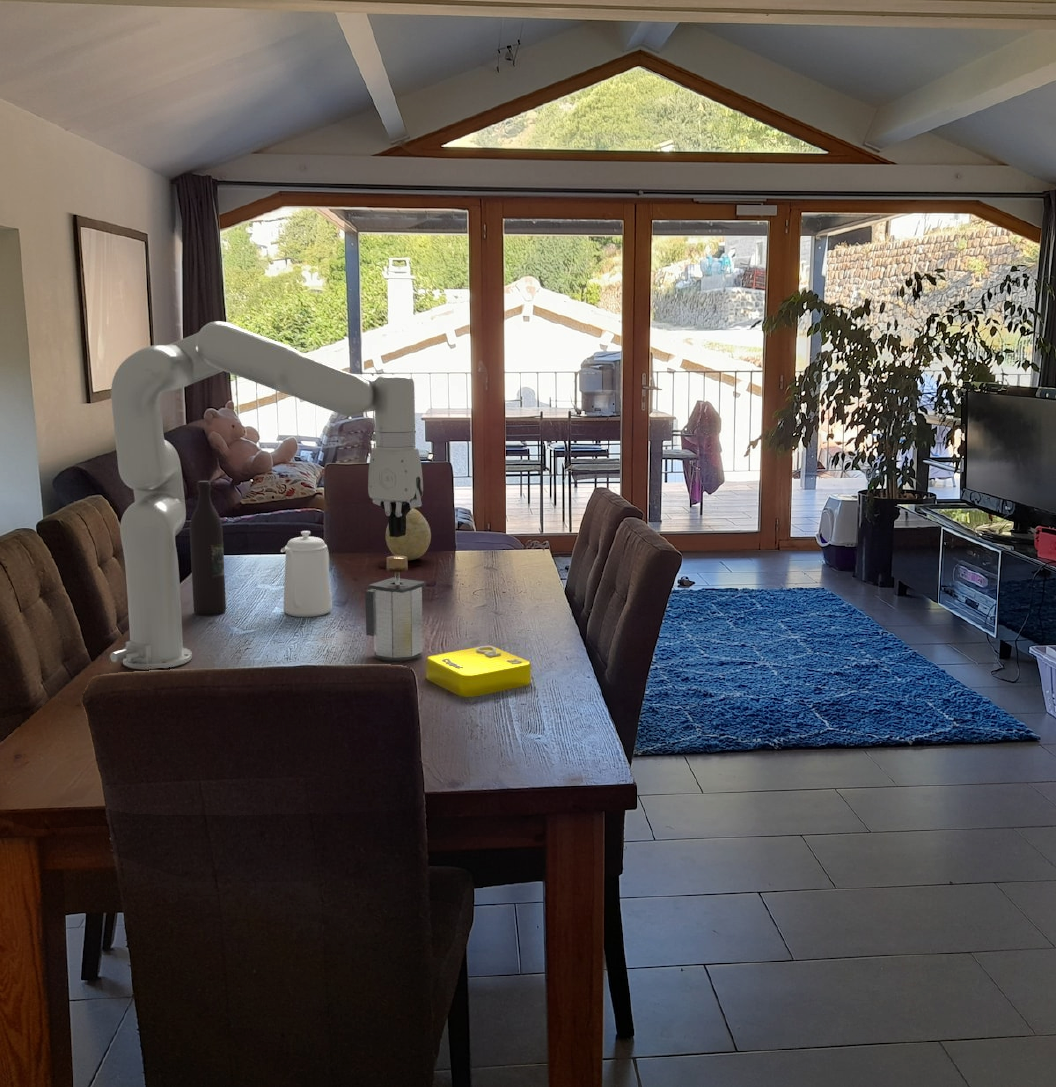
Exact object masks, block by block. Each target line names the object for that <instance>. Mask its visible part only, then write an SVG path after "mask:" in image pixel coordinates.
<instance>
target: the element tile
mask: <svg viewBox="0 0 1056 1087" xmlns="http://www.w3.org/2000/svg"><path fill="white" fill-rule="evenodd" d="M425 661H426V664H425V665H426V668H425V669H426V674H425V675H426V680H427V681H429V682H432V683H434V684H436V686H437V685H438V686H439V687H441V688H443V689H446V690H447V691H449V692H451V693H453V694H455V695H458V696H460V697H464V698H475V697H479V696H484V695H488V694H494V693H499V692H503V691H508V690H513V689H517V688H523V687H527V686H530V685H531V683H532V663H531V662H530V661H529V660H527V659H525V658H522V657H519V656H518V655H514V654H512V653H509V652H508V651H505V650H502V649H500V648H498V647H495V646H493V645H481V646H475V647H472V648H466V649H461V650H459V649H458V650H454V651H449V652H443V653H438V654H432V655H429V656H427V658H426V660H425Z"/></svg>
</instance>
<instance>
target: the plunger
mask: <svg viewBox="0 0 1056 1087" xmlns="http://www.w3.org/2000/svg"><path fill="white" fill-rule="evenodd" d="M408 569H409V568H408V560H407V557H406V556H395V555H391V556H387V557H386V571H387V572H391V573H394V578H395V585H400V579H401V578H400V576H401V575H400V573H401V572H402V573H403V572H406V571H408Z"/></svg>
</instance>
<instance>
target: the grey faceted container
mask: <svg viewBox="0 0 1056 1087" xmlns="http://www.w3.org/2000/svg"><path fill="white" fill-rule="evenodd" d="M426 585H427V582H426V581H422V580H415V579H407V578H400V585H395V577H390V578H387V579H384V580H380V581H377V582H373V583H371V584H368V586H367V588H368V589H367V590H365V591H364V592H365V593H364V594H365V630H366V632H365V635H366V636H371V637H373V648H374V649H373V650H374V658H375V659H376V660H378V661H380V662H384V661H385V663H392V662H401V663H407V662H413V661H416V660H419V659H421V658H422V656H423V652H424V649H423V648H424V647H423V639H424V638H423V587H424V586H426Z"/></svg>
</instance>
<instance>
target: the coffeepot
mask: <svg viewBox="0 0 1056 1087" xmlns="http://www.w3.org/2000/svg"><path fill="white" fill-rule="evenodd" d="M300 534H301V536H298V537H294V538H290V539H289V540H288V542H287V544H286V545H285V546H284V547H282V548H281V549H280V553H284V552H285V562H284V563H285V564H284V585H283V587H284V588H283V605H282V606H283V607H282V608H283V611H284V613H285V614H287V615H289V616H292V617H295V618H297V617H298V618H313V617H319V616H323V615H326V614H329V612H331V611H332V609H333V600H332V591H331V582H330V572H329V570H330V568H329V567H330V553H329V549H328V545H327V544H326V543H325V541H324V540H323V539H322V538H320V537H318V536H317V537H316V536H310V535H311V531H310V530H302V531H300Z"/></svg>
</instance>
